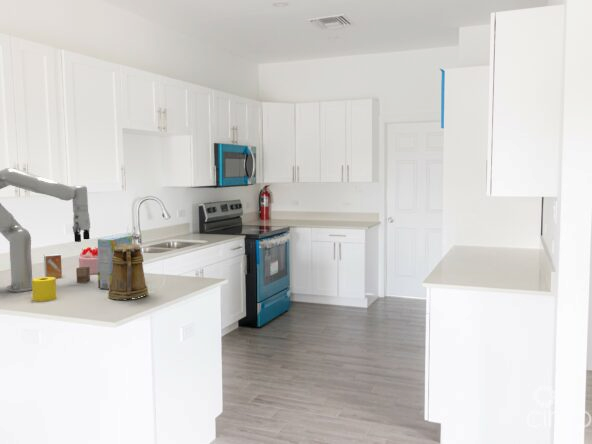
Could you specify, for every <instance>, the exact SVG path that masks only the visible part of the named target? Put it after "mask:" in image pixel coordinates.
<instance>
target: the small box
mask: <svg viewBox="0 0 592 444" xmlns="http://www.w3.org/2000/svg"><path fill="white" fill-rule="evenodd" d="M43 262H44V264H43V265H44V267H43V268H44V277H55V279H61V278H62V277H63V275H62V273H63V271H62V270H63V268H62V255H61V254H60V253H54V254H53V253H52V254H51V253H50V254H44V255H43Z"/></svg>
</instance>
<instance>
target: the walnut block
mask: <svg viewBox="0 0 592 444" xmlns="http://www.w3.org/2000/svg"><path fill="white" fill-rule="evenodd" d="M75 272H76V283H77V284H87V283H89V282H91V274H90V267H77V268H76V271H75Z"/></svg>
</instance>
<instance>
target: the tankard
mask: <svg viewBox="0 0 592 444" xmlns="http://www.w3.org/2000/svg"><path fill="white" fill-rule="evenodd" d="M112 262H113V268H112V278H111V288H110V289H108V298H109V299H111V300H114V299H116V301H125V300H124V299H132V298H138V297H141V296H144V295H147V294H148V295H149V289H148V286H147V283H146V278H145V272H144V266H143V263H144V256H143V253H142V252H141V246H140V245H139V244H136V243H132V244H128V243H125V244H120V245H117V246H115V247H114V255H113V256H112ZM148 295H147V296H148Z"/></svg>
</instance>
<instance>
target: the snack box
mask: <svg viewBox="0 0 592 444" xmlns="http://www.w3.org/2000/svg"><path fill="white" fill-rule="evenodd" d="M125 243H128V244H133V235H131V234H115V235H112V236H107V237H102V238H98V239H97V248H98V274H97V278H98V279H97V281H98V282H97V285H98V286H97V288H98V289H105V290H109V289H110V288H111V278H112V268H113V262H112V256H113V255H114V247H115V246H117V245H120V244H125Z"/></svg>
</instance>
